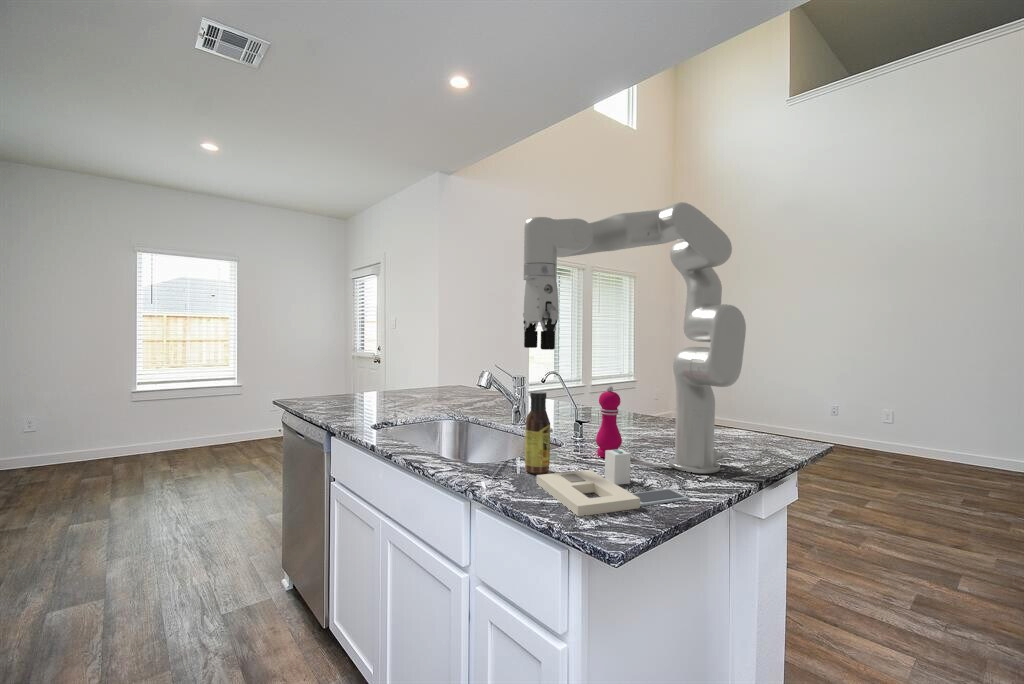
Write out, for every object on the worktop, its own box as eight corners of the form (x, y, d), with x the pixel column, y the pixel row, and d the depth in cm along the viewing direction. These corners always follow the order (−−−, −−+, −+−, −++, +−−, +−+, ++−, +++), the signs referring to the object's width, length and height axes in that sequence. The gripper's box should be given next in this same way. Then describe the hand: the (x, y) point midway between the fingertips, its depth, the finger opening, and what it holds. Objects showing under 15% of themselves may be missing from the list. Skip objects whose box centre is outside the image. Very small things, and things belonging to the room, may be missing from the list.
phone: (670, 492, 105) (670, 487, 105) (688, 502, 99) (688, 496, 99) (624, 498, 101) (624, 493, 101) (640, 508, 95) (641, 503, 95)
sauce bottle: (547, 475, 114) (549, 394, 113) (522, 473, 115) (523, 393, 115) (551, 468, 120) (552, 391, 120) (527, 466, 121) (528, 390, 121)
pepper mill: (593, 457, 131) (594, 386, 130) (598, 451, 137) (599, 383, 137) (619, 460, 128) (620, 388, 128) (623, 454, 135) (624, 385, 134)
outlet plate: (590, 478, 113) (590, 469, 113) (639, 508, 94) (640, 497, 94) (536, 483, 108) (536, 474, 108) (577, 516, 89) (577, 505, 89)
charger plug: (619, 477, 113) (620, 447, 113) (629, 483, 109) (630, 452, 109) (604, 479, 112) (605, 449, 112) (614, 485, 108) (615, 453, 108)
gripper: (572, 270, 100) (570, 350, 100) (540, 278, 116) (538, 347, 116) (540, 267, 97) (538, 350, 98) (511, 276, 113) (510, 347, 114)
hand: (538, 348), depth 107 cm, fingers open, 9 cm apart
